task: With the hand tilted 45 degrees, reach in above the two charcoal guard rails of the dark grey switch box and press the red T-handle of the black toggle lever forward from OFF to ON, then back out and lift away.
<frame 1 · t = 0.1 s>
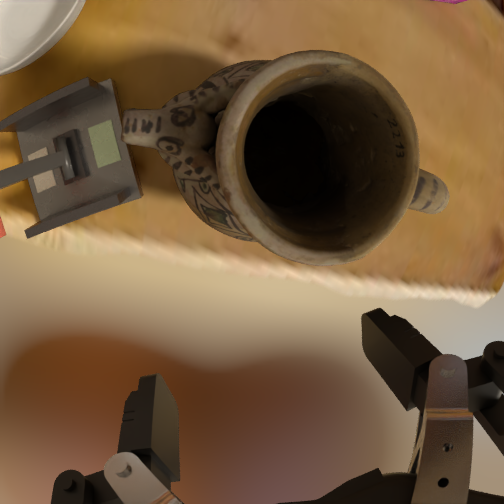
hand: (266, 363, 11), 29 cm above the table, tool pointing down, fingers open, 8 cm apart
switch box: (77, 156, 33), on the table
serving bowl: (35, 15, 25), on the table
decorative pitcher: (250, 149, 37), on the table
switch lever: (22, 171, 24), point 10 cm above the table, hinge at -28.0°
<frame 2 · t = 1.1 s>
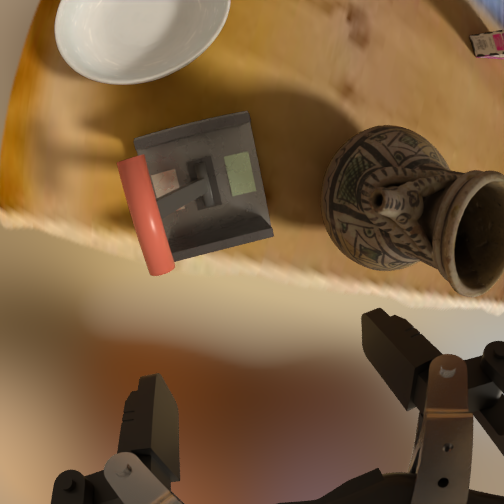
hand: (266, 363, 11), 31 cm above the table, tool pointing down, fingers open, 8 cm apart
switch box: (203, 180, 39), on the table
serving bowl: (146, 22, 31), on the table
decorative pitcher: (357, 187, 43), on the table
switch lever: (177, 198, 30), point 10 cm above the table, hinge at -28.0°
candy bar box: (485, 48, 38), on the table
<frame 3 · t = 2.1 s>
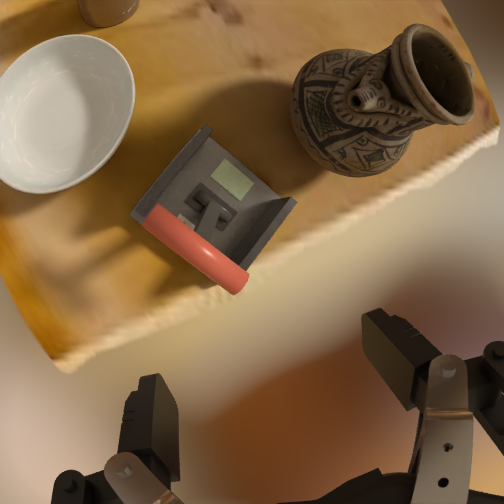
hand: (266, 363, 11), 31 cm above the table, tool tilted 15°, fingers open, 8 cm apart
switch box: (207, 207, 41), on the table
serving bowl: (65, 122, 34), on the table
decorative pitcher: (322, 127, 45), on the table
switch lever: (205, 225, 31), point 10 cm above the table, hinge at -28.0°
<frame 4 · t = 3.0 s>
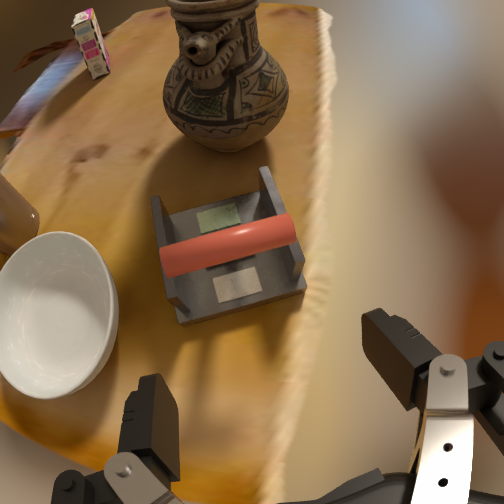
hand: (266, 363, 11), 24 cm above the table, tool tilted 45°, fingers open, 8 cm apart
switch box: (228, 256, 39), on the table
serving bowl: (69, 323, 36), on the table
decorative pitcher: (230, 132, 48), on the table
switch lever: (226, 243, 29), point 10 cm above the table, hinge at -28.0°
candy bar box: (102, 68, 61), on the table
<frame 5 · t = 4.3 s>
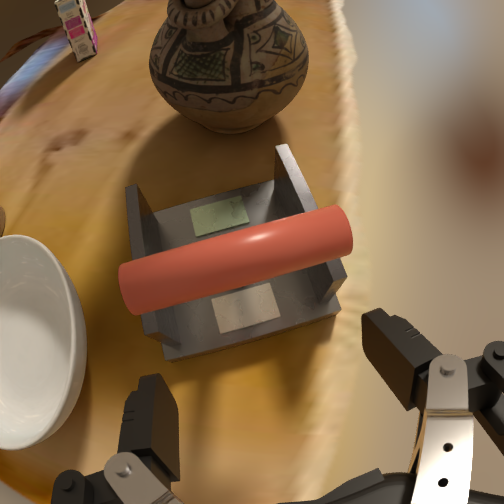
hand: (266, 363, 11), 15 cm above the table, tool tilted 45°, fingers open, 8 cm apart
switch box: (233, 267, 29), on the table
serving bowl: (33, 350, 26), on the table
decorative pitcher: (234, 111, 38), on the table
switch lever: (231, 252, 19), point 10 cm above the table, hinge at -28.0°
candy bar box: (88, 50, 51), on the table
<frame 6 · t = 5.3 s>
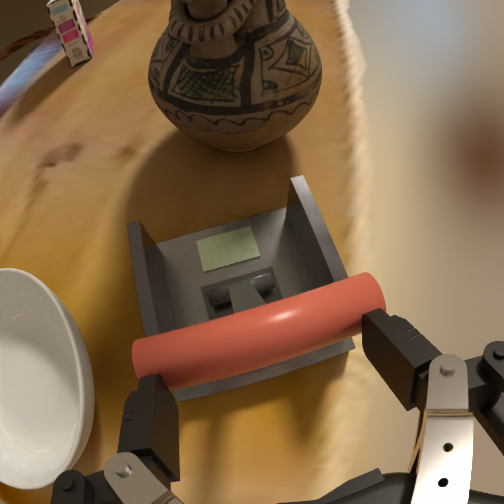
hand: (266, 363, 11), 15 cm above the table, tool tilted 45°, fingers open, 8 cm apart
switch box: (243, 303, 28), on the table
serving bowl: (37, 383, 25), on the table
decorative pitcher: (239, 126, 36), on the table
switch lever: (247, 307, 18), point 10 cm above the table, hinge at -27.0°, touching gripper
candy bar box: (83, 53, 49), on the table
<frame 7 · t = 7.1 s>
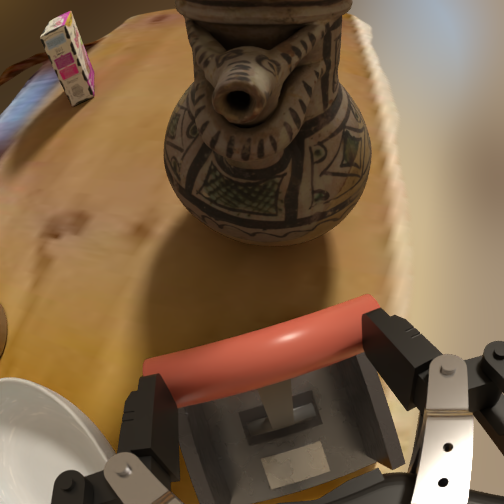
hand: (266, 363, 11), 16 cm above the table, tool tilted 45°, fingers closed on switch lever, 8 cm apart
switch box: (279, 416, 24), on the table
serving bowl: (66, 475, 22), on the table
decorative pitcher: (267, 202, 34), on the table
switch lever: (275, 396, 16), point 10 cm above the table, hinge at 20.2°, touching gripper
candy bar box: (85, 89, 48), on the table
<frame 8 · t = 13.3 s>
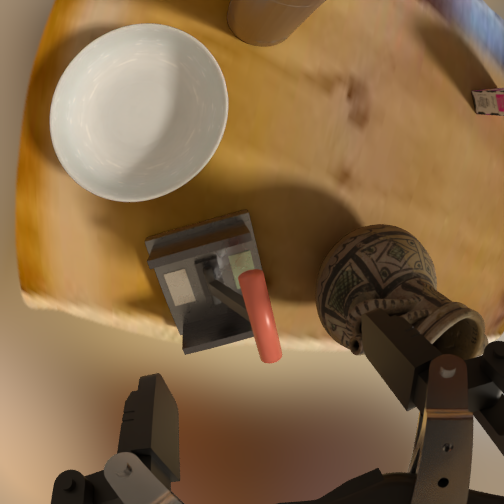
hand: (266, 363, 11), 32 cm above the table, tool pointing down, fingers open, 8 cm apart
switch box: (210, 272, 44), on the table
serving bowl: (143, 114, 36), on the table
decorative pitcher: (350, 266, 48), on the table
switch lever: (235, 301, 35), point 10 cm above the table, hinge at 22.6°
candy bar box: (487, 100, 43), on the table
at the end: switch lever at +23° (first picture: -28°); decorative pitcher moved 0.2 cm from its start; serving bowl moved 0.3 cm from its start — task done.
